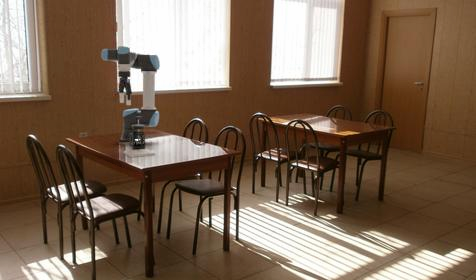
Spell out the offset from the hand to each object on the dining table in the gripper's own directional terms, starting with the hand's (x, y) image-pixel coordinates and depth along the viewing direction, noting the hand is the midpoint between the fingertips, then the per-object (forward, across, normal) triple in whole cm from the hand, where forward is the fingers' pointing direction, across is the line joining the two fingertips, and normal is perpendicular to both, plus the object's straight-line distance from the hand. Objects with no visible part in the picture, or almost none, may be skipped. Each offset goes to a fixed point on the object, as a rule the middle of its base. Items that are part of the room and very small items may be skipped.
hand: (125, 104), depth 302 cm
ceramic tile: (+33, +6, +6) cm, 34 cm away
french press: (+33, -7, +10) cm, 35 cm away
